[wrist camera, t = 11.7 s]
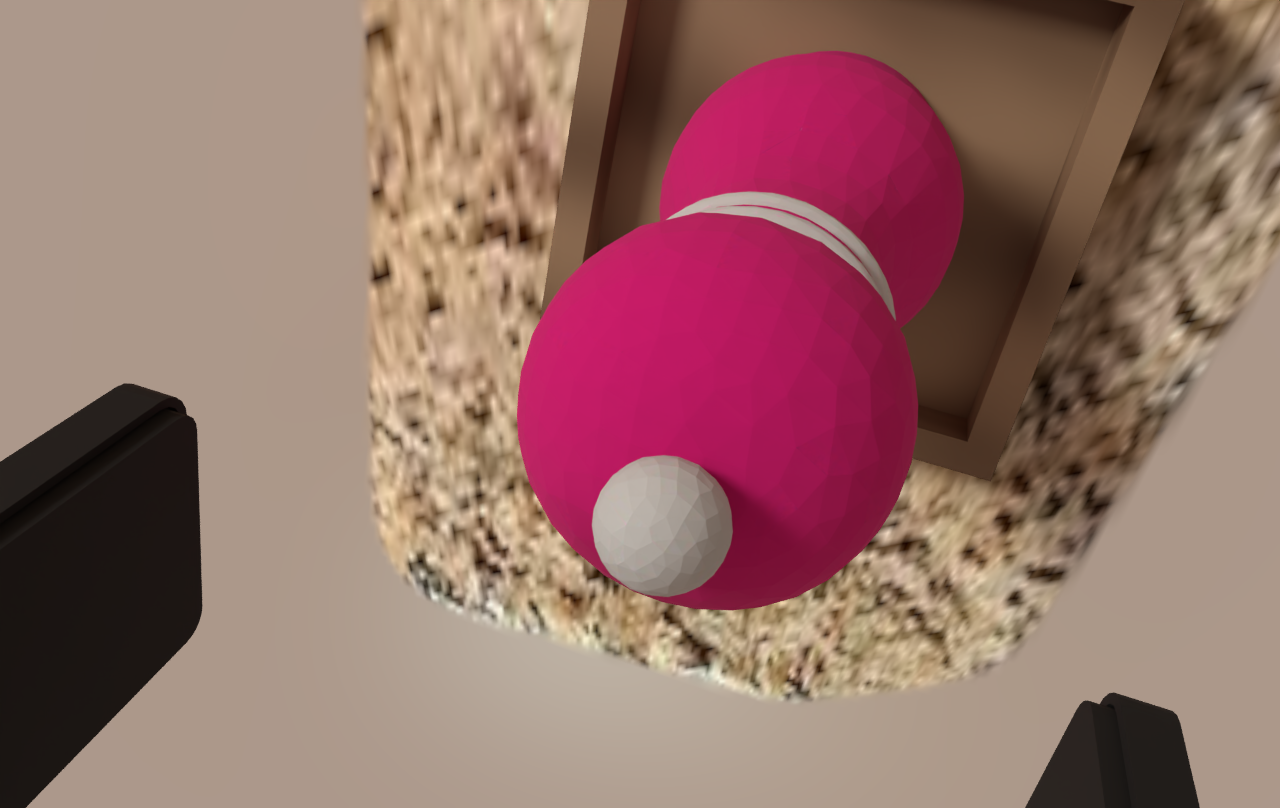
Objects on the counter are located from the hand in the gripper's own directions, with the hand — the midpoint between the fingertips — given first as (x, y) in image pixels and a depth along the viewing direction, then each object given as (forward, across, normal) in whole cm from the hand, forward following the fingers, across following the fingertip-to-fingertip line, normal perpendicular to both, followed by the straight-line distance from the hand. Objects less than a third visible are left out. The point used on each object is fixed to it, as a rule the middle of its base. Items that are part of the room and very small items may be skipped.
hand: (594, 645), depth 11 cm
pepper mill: (+22, 0, +1) cm, 22 cm away
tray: (+23, 0, +1) cm, 23 cm away
